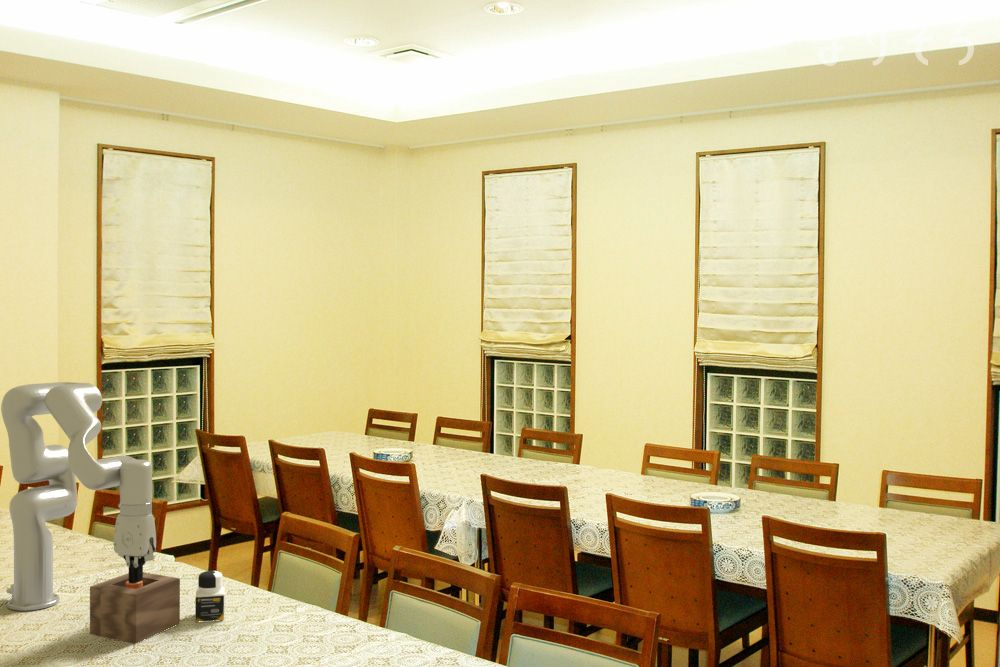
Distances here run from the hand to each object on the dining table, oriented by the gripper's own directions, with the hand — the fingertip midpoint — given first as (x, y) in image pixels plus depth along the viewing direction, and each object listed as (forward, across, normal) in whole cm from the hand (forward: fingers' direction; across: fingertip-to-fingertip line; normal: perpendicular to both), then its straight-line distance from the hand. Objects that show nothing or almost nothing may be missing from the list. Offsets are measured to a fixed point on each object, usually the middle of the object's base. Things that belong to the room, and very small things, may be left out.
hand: (135, 581), depth 236 cm
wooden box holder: (+12, 0, 0) cm, 12 cm away
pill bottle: (+12, 0, 0) cm, 12 cm away
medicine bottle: (+13, +11, +15) cm, 22 cm away
